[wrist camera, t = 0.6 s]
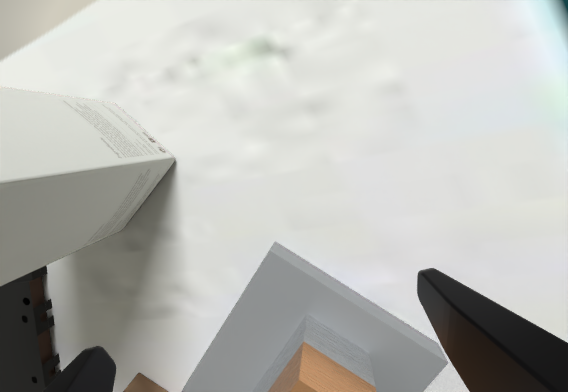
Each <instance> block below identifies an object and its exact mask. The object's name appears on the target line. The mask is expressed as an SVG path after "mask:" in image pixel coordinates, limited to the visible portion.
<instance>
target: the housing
mask: <svg viewBox="0 0 568 392" xmlns="http://www.w3.org/2000/svg"><path fill="white" fill-rule="evenodd" d="M252 392H376V387H375V382H374V377H373V372H372V366H371V361H370V356H369V353H368V352H367V351H365V350H363V349H362V348H360V347H359V346H357V345H356V344H354V343H352V342H351V341H349V340H348V339H346V338H345V337H343V336H341V335H340V334H338V333H337V332H335V331H334V330H332V329H330V328H329V327H327V326H326V325H324V324H323V323H321V322H319V321H318V320H316V319H315V318H313V317H311V316H310V315H308V314H307V315H306V316H305V317H304V319H303V320H302V322H301V323H300V325H299V326H298V327H297V329H296V330H295V332H294V333H293V334H292V336H291V337H290V339H289V340H288V342H287V343H286V344H285V346H284V347H283V349H282V350H281V352H280V353H279V354H278V356H277V357H276V359H275V360H274V362H273V363H272V364H271V366H270V367H269V369H268V370H267V372H266V373H265V374H264V376H263V377H262V379H261V380H260V382H259V383H258V384H257V386H256V387H255V389H254V390H253V391H252Z"/></svg>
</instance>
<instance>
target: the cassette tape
mask: <svg viewBox="0 0 568 392" xmlns="http://www.w3.org/2000/svg"><path fill="white" fill-rule="evenodd" d="M40 269H41V270H40ZM45 274H47V267H46V265H45V266H43V267H41V268H39V269H37V270H35V271H32V272H30V273H28V274H26V275H24V276H22V277H19V278H17V279H15V280H13V281H11V282H9V283H6V284H4V285H2V286H0V392H42V391H43V390H44V389H45V388H46V387H47V386H48V385H49V384H50V383H51V382H52V381H53V380H54V379H55V378H56V377H57V376H58V375H59V374H60V373H61V370H59V371H58V372H57V373H56V374H55V368H54V366H56V365H57V364H58V363H59V362H60V360H59V353H58V354H57V355H55V356H54V357H53V354H52V347H51V341H50V334H49V328H50V327H52V326H54V325H55V324H54V317H53V316H51V317H50V318H48V319H47V313H46V311H47V310H49V309H51V308H52V303H51V299H50V300H48V301H46V302H45V299H44V292H43V285H42V278H41V276H43V275H45ZM53 359H54V360H53Z"/></svg>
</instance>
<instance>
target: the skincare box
mask: <svg viewBox="0 0 568 392" xmlns="http://www.w3.org/2000/svg"><path fill="white" fill-rule="evenodd" d="M174 161H175V157H174V156H173V155H172V154H171V153H170V152H169V151H167V150H166V149H165V148H164V147H163V146H162V145H161V144H160V143H159V142H158V141H157V140H156V139H154V138H153V137H152V136H151V135H150V134H149V133H148V132H147V131H146V130H145V129H144V128H142V127H141V126H140V125H139V124H138V123H137V122H136V121H135V120H133V119H132V118H131V117H130V116H129V115H128V114H127V113H126V112H125V111H124V110H122V109H121V108H120V107H119V106H118V105H117V104H116V103H111V102H104V101H97V100H91V99H84V98H77V97H70V96H63V95H56V94H50V93H43V92H36V91H30V90H24V89H16V88H9V87H2V86H0V286H2V285H4V284H6V283H9V282H11V281H13V280H15V279H17V278H19V277H22V276H24V275H26V274H28V273H30V272H32V271H35V270H37V269H39V268H41V267H43V266H45V265H48V264H50V263H52V262H54V261H56V260H58V259H60V258H63V257H65V256H67V255H69V254H71V253H73V252H75V251H78V250H80V249H82V248H84V247H86V246H88V245H91V244H93V243H95V242H97V241H99V240H102V239H104V238H106V237H108V236H110V235H113V234H115V233H117V232H119V231H121V230H122V229H123V228H124V227H125V226H126V224H127V223H128V222H129V220H130V219H131V218H132V217H133V215H134V214H135V213H136V211H137V210H138V209H139V208H140V206H141V205H142V204H143V202H144V201H145V200H146V198H147V197H148V196H149V194H150V193H151V192H152V191H153V189H154V188H155V187H156V185H157V184H158V183H159V181H160V180H161V179H162V177H163V176H164V175H165V174H166V172H167V171H168V170H169V168H170V167H171V165H172V164H173V163H174Z"/></svg>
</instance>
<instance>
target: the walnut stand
mask: <svg viewBox="0 0 568 392" xmlns="http://www.w3.org/2000/svg"><path fill="white" fill-rule="evenodd" d="M123 392H168V391H166V390H165V389H163V388H162V387H160V386H159V385H157V384H156V383H154V382H153V381H151V380H150V379H148V378H147V377H145V376H144V375H142V374H140V373H138V374H137V376H136V377H135V378H134V379H133V380H132V382H131V383H130V384H129V385H128V386H127V388H126V389H125V390H124V391H123Z"/></svg>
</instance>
